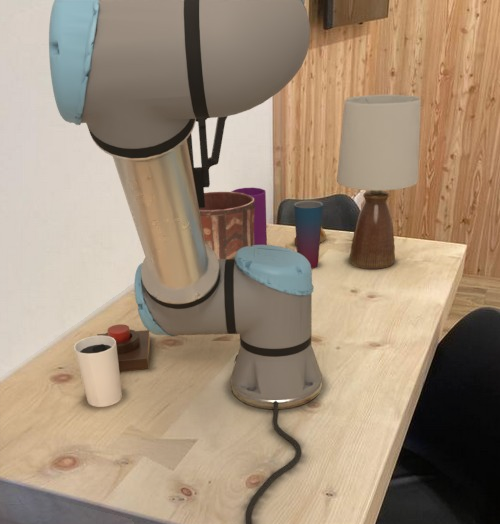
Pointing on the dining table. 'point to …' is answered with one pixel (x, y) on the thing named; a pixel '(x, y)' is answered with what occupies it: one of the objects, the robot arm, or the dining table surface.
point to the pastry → (322, 236)
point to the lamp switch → (119, 332)
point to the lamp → (378, 167)
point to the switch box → (133, 351)
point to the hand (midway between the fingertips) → (200, 205)
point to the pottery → (228, 222)
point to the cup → (308, 229)
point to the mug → (258, 213)
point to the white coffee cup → (99, 370)
